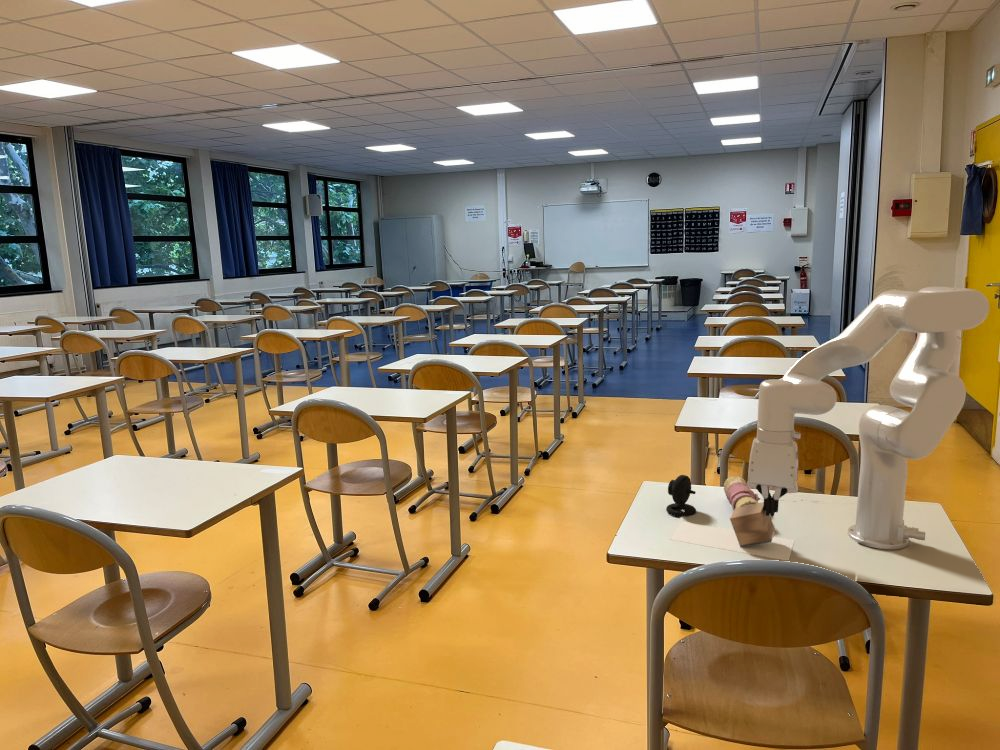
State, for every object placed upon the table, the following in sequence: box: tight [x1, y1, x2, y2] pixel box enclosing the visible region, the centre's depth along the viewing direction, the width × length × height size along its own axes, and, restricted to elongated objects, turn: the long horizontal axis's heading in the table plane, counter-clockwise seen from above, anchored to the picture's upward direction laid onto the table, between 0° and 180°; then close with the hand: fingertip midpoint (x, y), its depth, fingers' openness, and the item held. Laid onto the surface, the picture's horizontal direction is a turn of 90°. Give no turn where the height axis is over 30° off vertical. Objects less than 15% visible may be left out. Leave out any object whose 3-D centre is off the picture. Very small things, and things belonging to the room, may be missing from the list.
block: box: [729, 501, 776, 547], centre depth 162 cm, size 7×7×7 cm
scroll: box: [723, 475, 761, 512], centre depth 181 cm, size 8×8×20 cm
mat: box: [669, 521, 795, 561], centre depth 164 cm, size 26×12×1 cm, turn 62°
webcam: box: [665, 474, 697, 518], centre depth 182 cm, size 8×8×10 cm
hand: (770, 514), depth 159 cm, fingers closed
